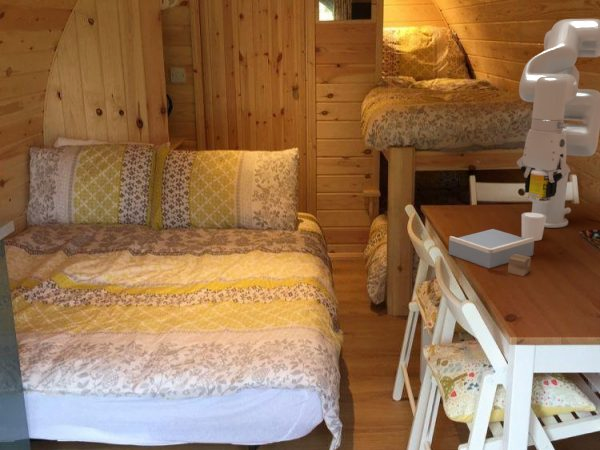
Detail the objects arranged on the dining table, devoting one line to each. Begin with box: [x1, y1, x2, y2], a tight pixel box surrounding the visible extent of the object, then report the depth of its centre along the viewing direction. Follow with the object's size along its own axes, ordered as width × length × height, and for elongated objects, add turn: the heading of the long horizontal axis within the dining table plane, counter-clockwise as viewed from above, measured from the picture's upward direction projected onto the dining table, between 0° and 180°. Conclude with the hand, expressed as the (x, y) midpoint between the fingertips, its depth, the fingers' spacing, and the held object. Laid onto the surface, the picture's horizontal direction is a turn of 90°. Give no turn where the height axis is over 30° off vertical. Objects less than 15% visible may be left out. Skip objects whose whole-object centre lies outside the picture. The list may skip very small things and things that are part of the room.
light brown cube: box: [507, 254, 532, 277], centre depth 162 cm, size 4×4×4 cm
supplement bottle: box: [527, 168, 551, 203], centre depth 169 cm, size 6×6×10 cm
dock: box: [448, 228, 535, 269], centre depth 175 cm, size 18×14×5 cm
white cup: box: [521, 211, 546, 242], centre depth 189 cm, size 7×7×7 cm
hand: (539, 193), depth 170 cm, fingers closed on supplement bottle, 5 cm apart
